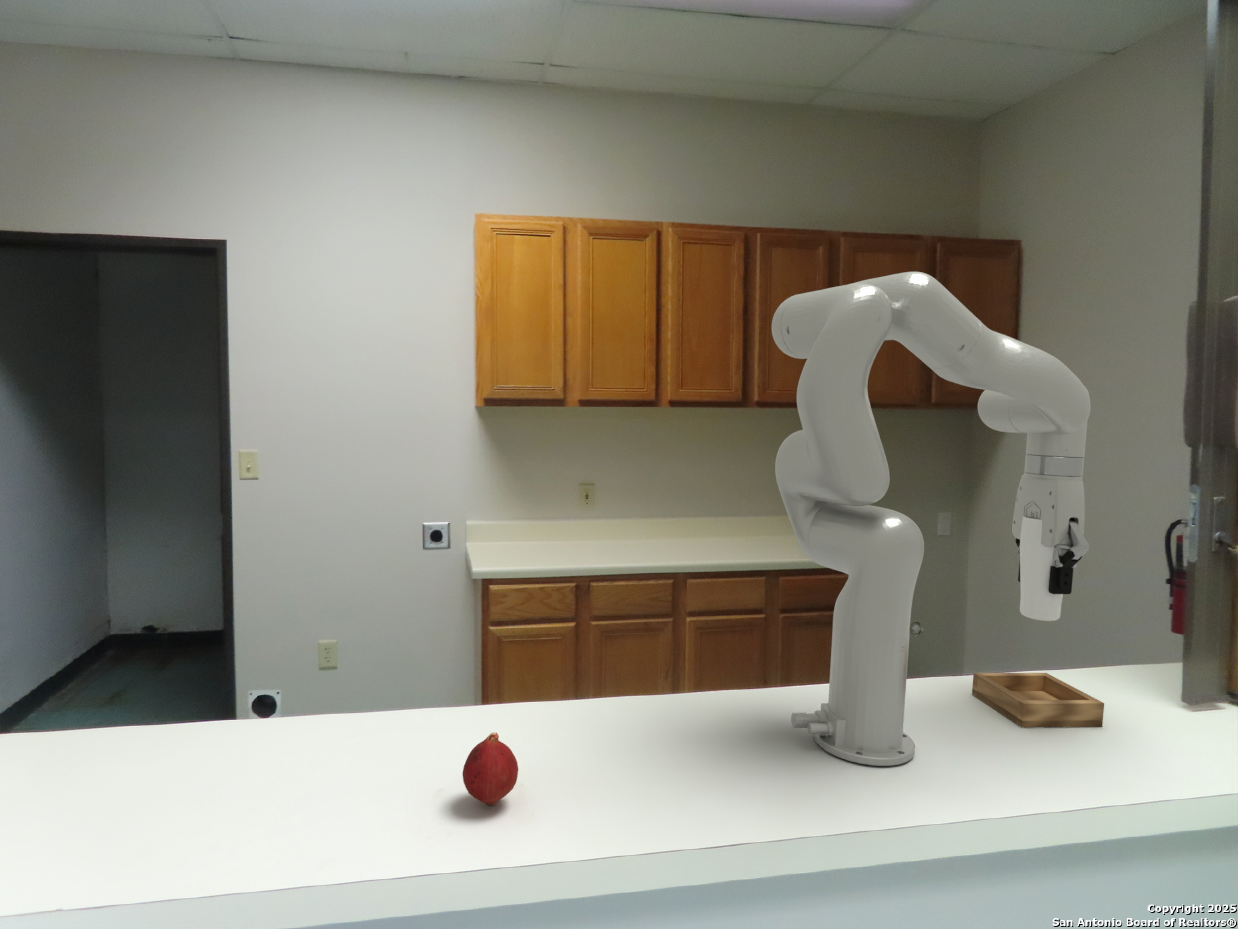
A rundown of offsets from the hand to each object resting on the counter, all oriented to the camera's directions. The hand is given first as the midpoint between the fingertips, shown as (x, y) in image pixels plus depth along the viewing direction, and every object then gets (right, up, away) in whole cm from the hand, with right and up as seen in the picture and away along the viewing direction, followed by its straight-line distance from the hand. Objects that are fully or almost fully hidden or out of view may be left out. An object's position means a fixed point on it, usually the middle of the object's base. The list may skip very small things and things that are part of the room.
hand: (1043, 586), depth 112 cm
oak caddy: (-1, -19, +1) cm, 19 cm away
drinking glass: (-1, -5, 0) cm, 5 cm away
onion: (-78, -19, -31) cm, 86 cm away
